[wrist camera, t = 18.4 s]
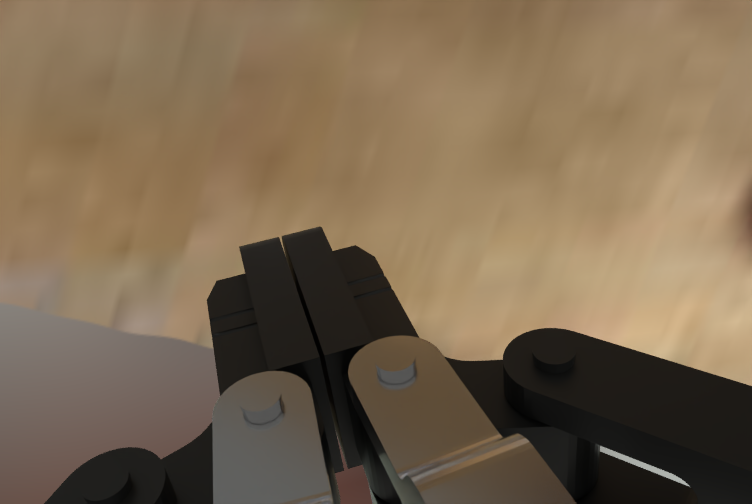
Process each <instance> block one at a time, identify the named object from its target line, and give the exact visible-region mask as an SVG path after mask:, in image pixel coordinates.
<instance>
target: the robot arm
mask: <svg viewBox="0 0 752 504" xmlns="http://www.w3.org/2000/svg"><path fill="white" fill-rule="evenodd" d="M282 241H283V246H284V251H285V254H284V251H283V248H282V245H281V242H280V239H279V237H277V238H273V239H269V240H264V241H260V242H256V243H252V244H248V245H244V246H240V247H239V248H240V252H241V256H242V261H243V265H244V269H245V273H246V274H242V275H238V276H234V277H230V278H226V279H222V280H218V281H216V283H215V285H214V287H213V289H212V291H211V293H210V295H209V297H208V299H207V304H208V311H209V319H210V326H211V333H212V337H213V338H212V340H213V347H214V355H215V362H216V369H217V376H218V383H219V391H220V397H219V399H218V401H217V402H216V404H215V407H214V410H213V417H212V423H211V424H210V425H209V426H208V428H207V429H206V430H205V431H204V432H203V433H202V434H201V435H200V436H198V437H197V438H196V439H194V440H193V441H192V442H190V443H189V444H187V445H186V446H184V447H182V448H181V449H179V450H177V451H175V452H173V453H172V454H170V455H168V456H166V457H165V458H163V459H160V458H159V457H158V456H157V455H156V454H154V453H153V452H151V451H148V450H146V449H142V448H132V447H128V448H120V449H116V450H112V451H108V452H106V453H103V454H100V455H98V456H96V457H94V458H92V459H90V460H89V461H87V462H86V463H84V464H83V465H81V466H80V467H79V468H78V469H76V470H75V471H74V472H73V473H72V474H71V475H70V476H69V477H68V478H67V479H66V480H65V481H64V482H63V483H62V484H61V486H60V487H59V488H58V489H57V490H56V491H55V492H54V493H53V495H52V496H51V497H50V498H49V499H48V500H47V501H46V502H45V503H44V504H340V495H339V490H338V485H337V481H336V477H335V473H337V472H341V471H344V468H343V463H342V459H341V454H340V449H339V445H338V440H337V436H338V439H339V442H340V445H341V449H342V451H343V455H344V458H345V461H346V464H347V467H348V469H349V468H352V467H356V466H359V465H363V467H364V470H365V473H366V476H367V479H368V482H369V487H370V492H371V498H372V503H373V504H752V386H749V385H746V384H743V383H740V382H736V381H733V380H730V379H727V378H723V377H720V376H717V375H714V374H710V373H707V372H704V371H701V370H697V369H694V368H691V367H688V366H684V365H681V364H678V363H675V362H671V361H668V360H665V359H662V358H658V357H655V356H652V355H649V354H645V353H642V352H639V351H636V350H632V349H629V348H626V347H623V346H619V345H616V344H613V343H609V342H606V341H603V340H600V339H596V338H593V337H590V336H587V335H583V334H580V333H577V332H574V331H570V330H566V329H558V328H544V329H537V330H532V331H529V332H526V333H524V334H522V335H519V336H518V337H516V338H515V339H513V340H512V341H511V342H510V343H509V344H508V346H507V347H506V349H505V351H504V354H503V360H489V361H461V360H455V359H450V358H447V357H444V356H443V355H442V353H441V352H440V351H439V349H438V348H437V347H436V346H434V345H433V344H432V343H430V342H428V341H426V340H424V339H421V338H419V336H418V334H417V333H416V331H415V329H414V327H413V325H412V324H411V322H410V320H409V318H408V316H407V315H406V313H405V311H404V309H403V307H402V306H401V304H400V302H399V300H398V298H397V296H396V295H395V293H394V291H393V290H392V289H391V286H390V284H389V282H388V280H387V278H386V277H385V276H384V273H383V271H382V269H381V268H380V266H379V264H378V262H377V260H376V258H375V257H374V256H372V255H371V254H369V253H367V252H366V251H364V250H362V249H361V248H359V247H358V246H356V245H355V246H351V247H347V248H343V249H339V250H335V251H332V249H331V247H330V245H329V242H328V240H327V238H326V236H325V234H324V232H323V229H322V228H321V227H316V228H312V229H308V230H304V231H300V232H296V233H292V234H288V235H284V236H282ZM285 255H286V257H285ZM335 430H336V431H335ZM336 433H337V435H336ZM600 446H603V447H606V448H608V449H611V450H613V451H616V452H618V453H621V454H623V455H626V456H629V457H631V458H634V459H636V460H639V461H641V462H644V463H646V464H649V465H652V466H654V467H657V468H659V469H662V470H664V471H667V472H669V473H672V474H674V475H676V476H678V477H679V478H681V479H682V480H684V481H685V482H686V483H687V484H688V485H689V486H690V487H689V486H686V485H683V484H681V483H678V482H676V481H673V480H671V479H668V478H666V477H663V476H661V475H658V474H656V473H653V472H651V471H648V470H646V469H643V468H641V467H638V466H635V465H633V464H630V463H628V462H625V461H623V460H620V459H618V458H615V457H613V456H610V455H608V454H605V453H603V452H600Z"/></svg>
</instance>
